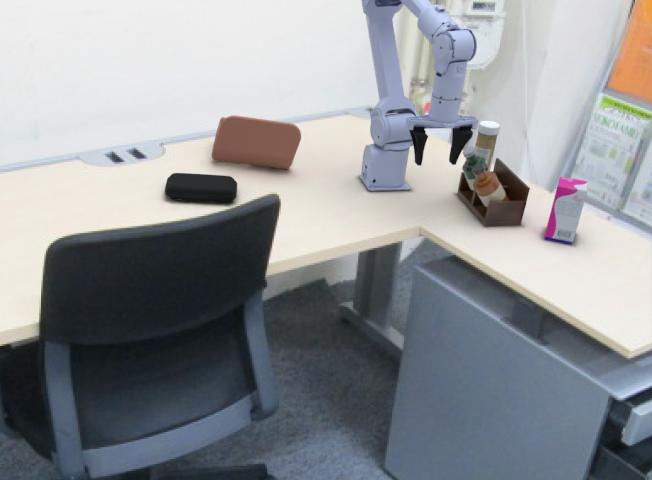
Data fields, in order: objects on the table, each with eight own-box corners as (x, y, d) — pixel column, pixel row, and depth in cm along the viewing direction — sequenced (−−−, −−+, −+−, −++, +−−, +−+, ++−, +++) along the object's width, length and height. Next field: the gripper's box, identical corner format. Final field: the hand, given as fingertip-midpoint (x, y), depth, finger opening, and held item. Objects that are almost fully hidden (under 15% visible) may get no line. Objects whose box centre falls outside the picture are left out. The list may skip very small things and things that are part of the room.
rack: (485, 226, 183) (493, 188, 178) (456, 194, 195) (464, 158, 190) (520, 225, 184) (530, 188, 179) (490, 193, 197) (498, 157, 192)
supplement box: (574, 233, 183) (589, 180, 176) (572, 245, 178) (587, 191, 172) (546, 227, 184) (560, 175, 177) (543, 239, 180) (557, 185, 173)
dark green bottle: (477, 201, 190) (462, 161, 183) (468, 191, 194) (453, 152, 187) (499, 189, 189) (484, 148, 183) (489, 179, 193) (474, 139, 186)
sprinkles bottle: (491, 183, 202) (504, 124, 194) (479, 187, 199) (492, 128, 191) (475, 176, 204) (487, 118, 196) (463, 180, 202) (475, 122, 194)
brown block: (281, 191, 199) (304, 129, 190) (208, 167, 196) (227, 103, 187) (283, 164, 212) (304, 104, 203) (213, 140, 209) (232, 79, 200)
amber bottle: (492, 217, 183) (471, 180, 177) (483, 207, 187) (461, 170, 181) (513, 203, 182) (493, 164, 176) (503, 193, 186) (483, 155, 180)
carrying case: (237, 185, 191) (168, 181, 190) (237, 171, 189) (168, 167, 188) (236, 206, 182) (164, 202, 181) (236, 192, 180) (163, 187, 179)
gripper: (418, 102, 168) (407, 171, 176) (489, 102, 171) (475, 169, 179) (406, 91, 174) (396, 158, 181) (475, 90, 177) (462, 157, 185)
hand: (435, 163), depth 181 cm, fingers open, 7 cm apart
